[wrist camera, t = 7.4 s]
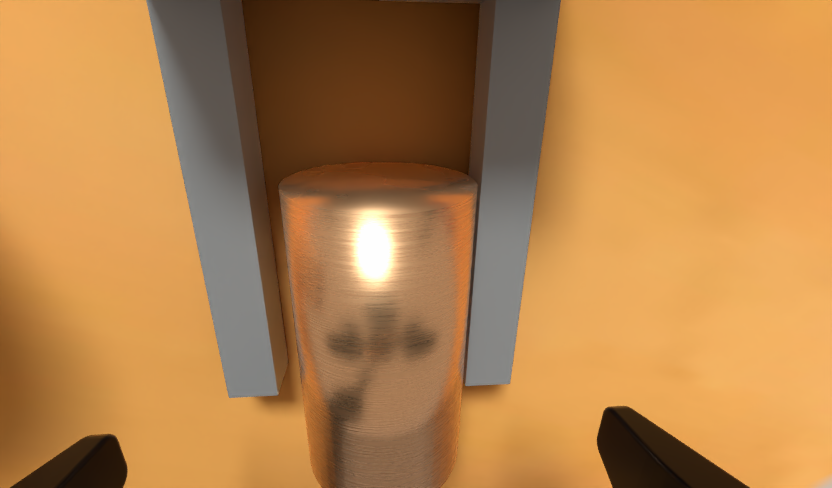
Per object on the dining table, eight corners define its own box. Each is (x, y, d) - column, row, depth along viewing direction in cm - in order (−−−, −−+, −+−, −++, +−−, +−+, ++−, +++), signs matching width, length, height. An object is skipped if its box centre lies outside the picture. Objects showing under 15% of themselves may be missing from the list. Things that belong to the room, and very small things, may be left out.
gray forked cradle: (496, 353, 14) (566, 516, 9) (244, 364, 13) (160, 548, 8) (554, -154, 9) (800, -471, 4) (145, -182, 8) (-258, -622, 3)
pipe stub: (236, 183, 9) (391, 229, 6) (373, 155, 12) (511, 178, 10) (278, 451, 12) (393, 549, 10) (378, 371, 15) (484, 429, 13)
